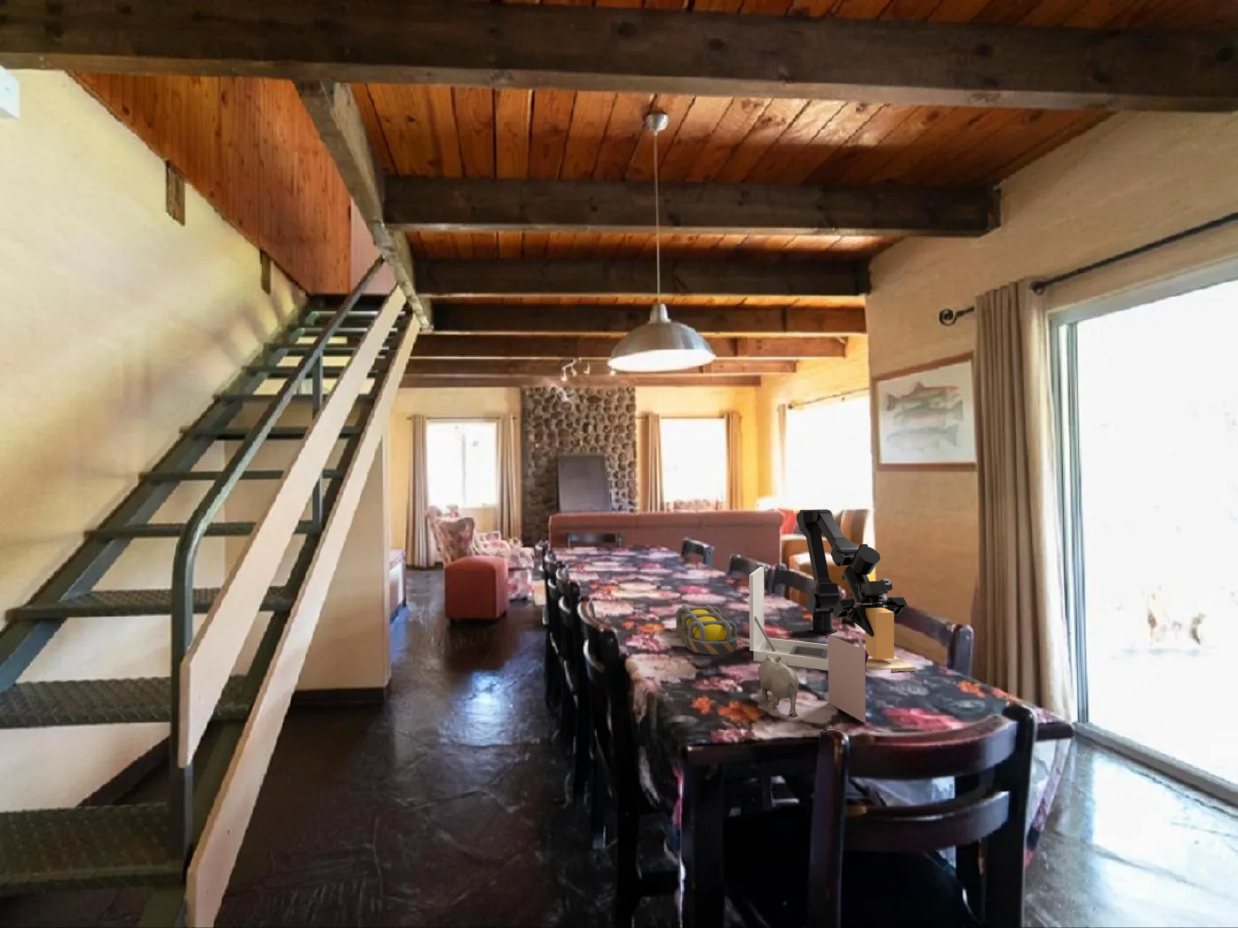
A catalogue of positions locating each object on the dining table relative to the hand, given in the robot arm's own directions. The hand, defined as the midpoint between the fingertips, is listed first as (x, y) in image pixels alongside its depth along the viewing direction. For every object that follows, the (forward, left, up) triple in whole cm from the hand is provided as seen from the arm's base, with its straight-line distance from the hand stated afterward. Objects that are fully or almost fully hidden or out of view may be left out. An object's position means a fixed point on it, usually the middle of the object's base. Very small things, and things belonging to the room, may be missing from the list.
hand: (882, 635), depth 157 cm
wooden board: (-1, -1, -8) cm, 8 cm away
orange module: (-1, -1, -6) cm, 6 cm away
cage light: (+16, -47, -8) cm, 50 cm away
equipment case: (+14, -17, -8) cm, 23 cm away
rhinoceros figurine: (+40, -4, -8) cm, 41 cm away
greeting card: (+33, +9, -8) cm, 35 cm away
